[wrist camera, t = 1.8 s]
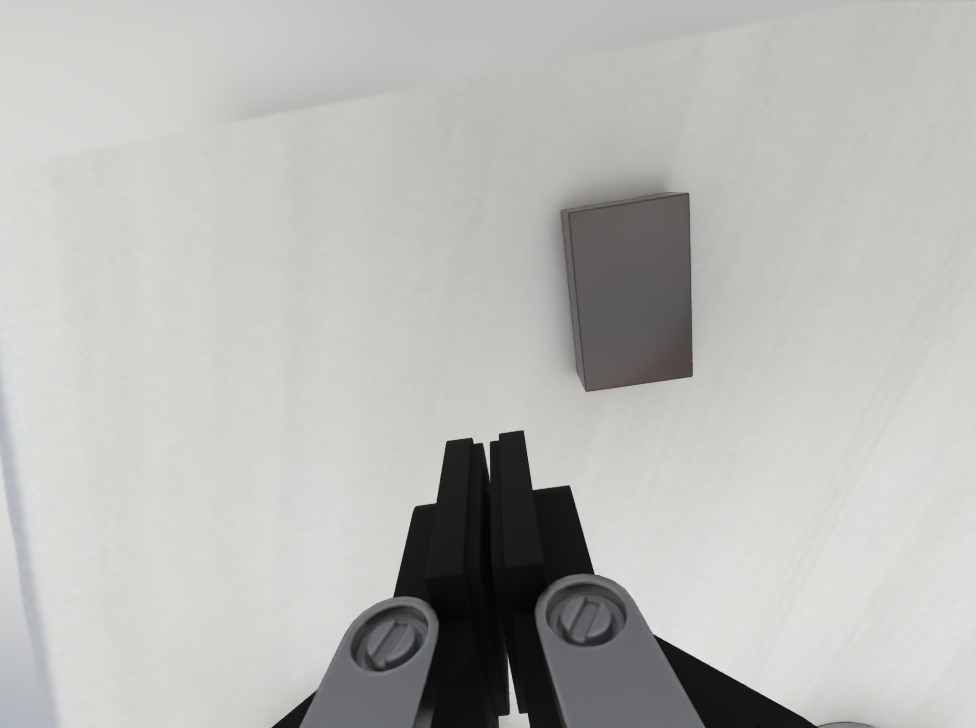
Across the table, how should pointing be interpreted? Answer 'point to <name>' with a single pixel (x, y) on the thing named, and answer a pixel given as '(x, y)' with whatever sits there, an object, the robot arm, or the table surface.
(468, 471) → the robot arm
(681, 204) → the walnut block
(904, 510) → the table surface
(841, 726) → the cup
